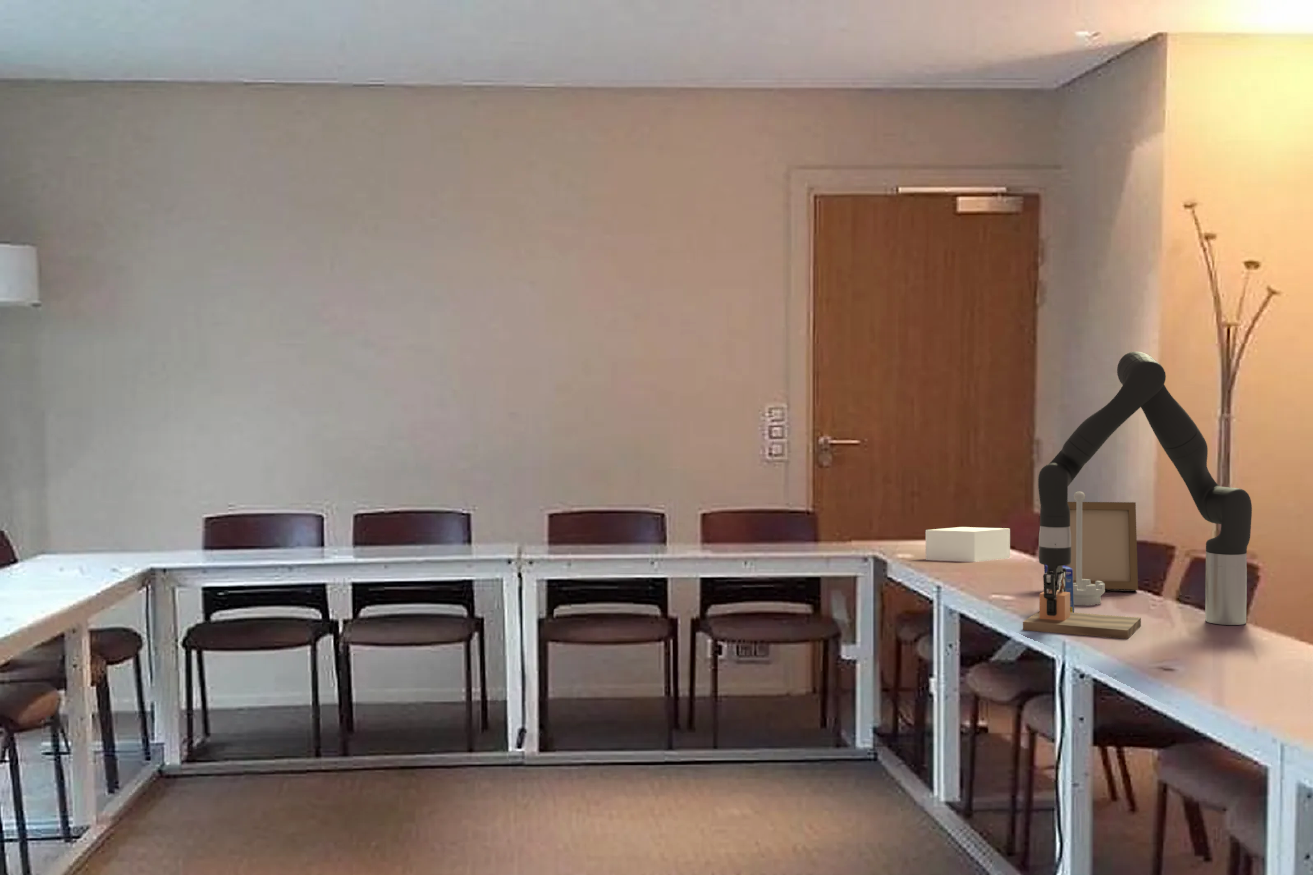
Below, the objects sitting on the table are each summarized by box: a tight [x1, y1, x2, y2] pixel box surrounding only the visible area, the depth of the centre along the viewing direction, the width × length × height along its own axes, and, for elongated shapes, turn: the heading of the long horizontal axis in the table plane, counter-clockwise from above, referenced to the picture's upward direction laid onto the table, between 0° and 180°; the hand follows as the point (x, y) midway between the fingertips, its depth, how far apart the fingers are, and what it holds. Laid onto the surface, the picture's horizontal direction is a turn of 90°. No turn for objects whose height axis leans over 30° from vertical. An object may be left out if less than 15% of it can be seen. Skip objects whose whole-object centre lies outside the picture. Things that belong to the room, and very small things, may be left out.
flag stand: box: [1073, 491, 1106, 606], centre depth 350 cm, size 13×13×30 cm
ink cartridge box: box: [1043, 565, 1075, 613], centre depth 333 cm, size 10×6×14 cm, turn 177°
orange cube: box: [1038, 591, 1070, 621], centre depth 316 cm, size 6×6×6 cm
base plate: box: [1022, 610, 1142, 640], centre depth 313 cm, size 18×24×6 cm
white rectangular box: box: [925, 526, 1011, 563], centre depth 437 cm, size 14×29×10 cm, turn 94°
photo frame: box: [1067, 501, 1139, 592], centre depth 373 cm, size 15×22×25 cm
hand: (1054, 613), depth 316 cm, fingers closed on orange cube, 6 cm apart
